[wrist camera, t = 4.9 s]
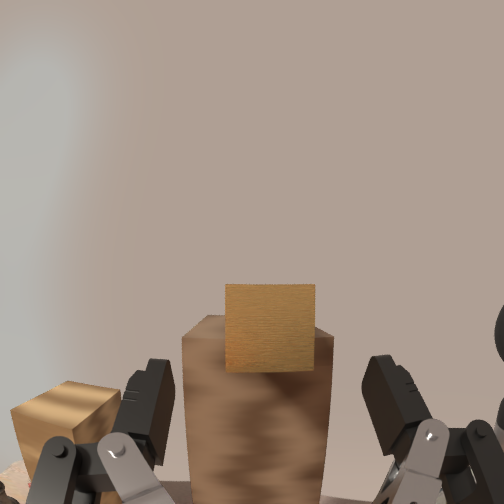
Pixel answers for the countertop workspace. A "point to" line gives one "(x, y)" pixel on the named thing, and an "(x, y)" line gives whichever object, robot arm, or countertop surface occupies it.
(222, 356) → the walnut bridge
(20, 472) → the countertop surface
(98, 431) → the oak block
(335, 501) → the countertop surface
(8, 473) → the countertop surface
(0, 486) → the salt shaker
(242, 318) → the grey and wood bar
